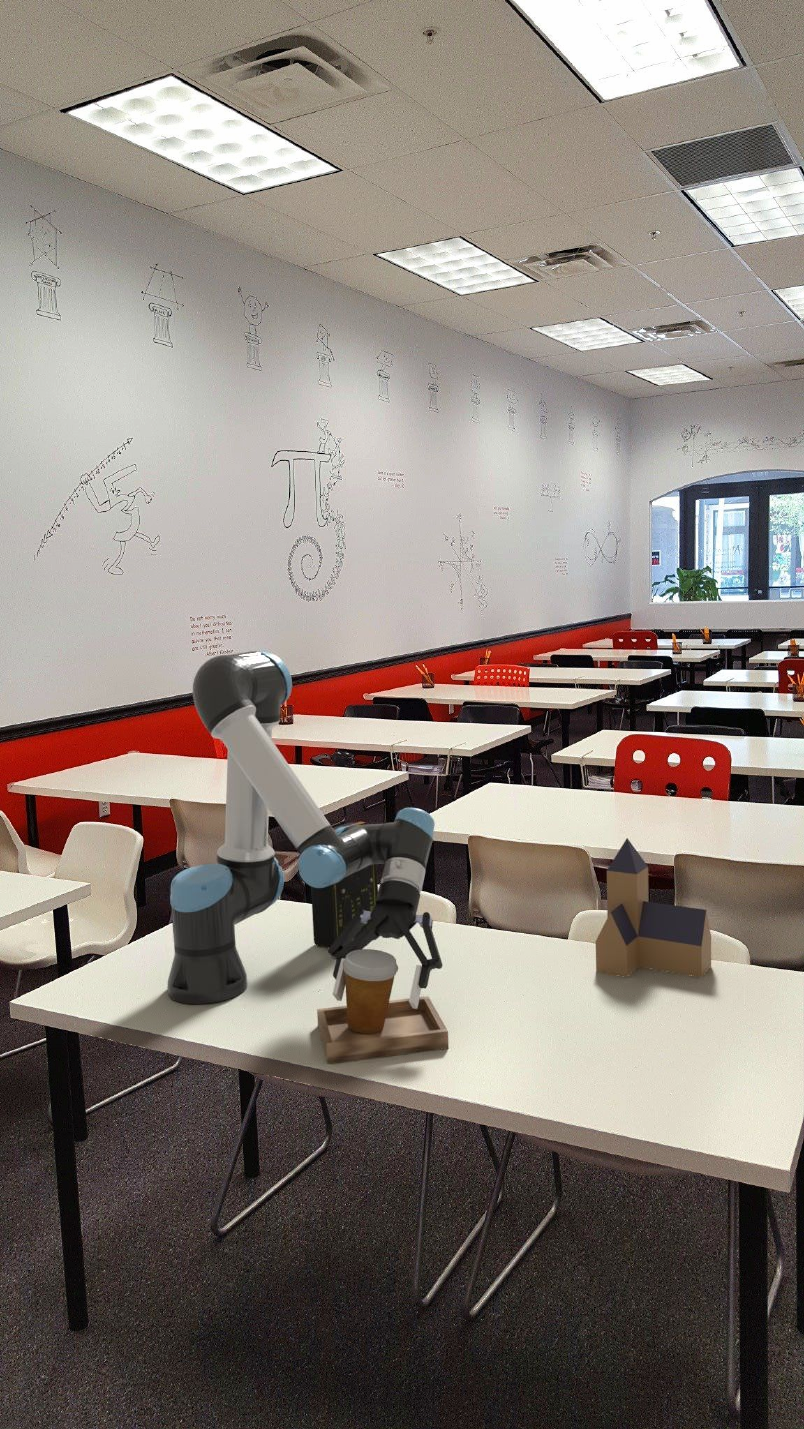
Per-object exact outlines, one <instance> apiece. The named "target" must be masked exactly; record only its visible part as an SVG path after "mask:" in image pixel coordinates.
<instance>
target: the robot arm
mask: <svg viewBox="0 0 804 1429" xmlns="http://www.w3.org/2000/svg"><path fill="white" fill-rule="evenodd" d="M290 672H291V671H290V670H289V668H288V666H287V665H286V664H285V663H284V662H283V660H282V659H281V658H280V657H279V656H277V655H276V654H274V653H271V652H269V651H256V650H255V651H253V650H251V651H246V652H238V653H233V654H223V655H222V654H220V655H215V656H214V657H212V658H209V659H208V660H206V661H205V662H204V663H203V664H202V665H201V666H200V667H199V668H198V669H197V672H196V673H195V676H194V678H193V683H192V698H193V702H194V707H195V709H196V712H197V714H198V716H199V718H200V720H201V722H202V723H203V725H204V727H205V728H206V730H207V732H208V733H209V734H210V735H211V737H212V738H213V739H219V740H221V742H222V743H223V744H224V746H225V747H226V749H227V764H226V765H227V766H226V768H227V769H226V793H225V796H226V797H225V798H226V799H225V829H224V831H225V832H224V843H223V844H222V845H221V846H220V847H219V848H218V849H216V852H217V853H216V863H203V864H199V865H198V866H190V867H188V868H186V869H184V870H181V871H180V872H179V873H177V874H175V876H174V878H172V881H171V884H170V896H169V903H170V908H171V924H172V932H173V933H172V934H173V946H174V955H173V960H172V963H171V967H170V972H169V974H168V975H169V976H168V980H167V995H168V997H169V998H170V999H171V1000H173V1001H174V1002H175V1001H176V1002H177V1003H182V1004H189V1005H206V1004H213V1003H219V1002H222V1001H223V1002H224V1001H228V1000H230V999H233V998H235V997H237V996H239V995H240V994H242V993H243V992H244V991H245V990H246V989H247V987H248V976H247V975H248V974H247V971H246V969H245V966H244V964H243V961H242V959H241V957H240V955H239V951H238V949H237V946H236V945H237V944H236V930H235V929H236V928H235V925H237V924H239V923H241V922H242V921H244V920H247V919H249V918H251V917H252V916H254V915H257V914H261V913H263V912H265V911H266V910H268V908H270V907H271V906H273V904H275V903H276V902H277V901H278V899H279V898H280V896H281V895H282V892H283V889H284V884H285V877H284V871H283V867H282V866H280V865H279V863H280V862H279V861H278V859H277V858H276V856H275V850H274V848H272V846H270V844H269V843H268V837H269V812H270V813H271V815H272V817H274V819H275V820H276V822H277V823H278V825H279V826H280V827H281V829H282V830H283V832H284V833H285V834H286V836H287V837H288V839H289V841H290V842H291V843H292V845H293V847H294V848H295V849H296V851H297V852H298V854H299V858H298V860H297V867H298V868H297V869H298V872H299V876H300V878H301V880H302V881H303V882H304V883H305V884H307V885H308V886H310V887H311V886H312V887H315V888H324V887H327V886H329V885H332V884H335V883H338V882H339V881H341V880H342V879H343V878H345V877H347V876H349V875H350V874H353V873H355V872H357V871H359V870H360V869H362V868H364V867H366V866H368V865H372V864H377V865H378V864H379V865H383V864H384V867H383V870H382V874H381V878H380V884H379V885H378V894H377V899H376V903H375V908H374V909H373V911H372V912H370V911H365V910H363V909H362V908H361V907H359V908H357V909H356V912H355V915H354V917H353V919H352V920H351V921H350V923H349V924H348V925H347V926H346V928H345V929H344V930H343V931H342V933H341V934H340V935H339V937H338V938H337V939H336V940H335V942H334V943H333V944H332V945H331V947H330V948H327V949H328V950H327V952H328V954H329V956H330V957H331V958H332V959H333V960H335V964H334V968H333V972H332V976H333V978H334V980H335V983H334V985H333V992H332V995H333V997H334V998H335V999H336V1000H337V1002H338V1001H340V1002H342V1000H343V996H344V993H345V990H346V983H345V971H344V968H343V962H344V960H345V958H346V955H347V954H348V953H350V952H352V951H355V950H361V949H364V948H366V947H367V946H368V945H369V944H370V943H372V942H373V941H376V940H377V939H379V937H382V939H389V938H392V939H395V940H400V938H403V937H405V939H406V941H407V942H408V944H409V946H410V947H411V949H412V951H413V952H414V954H415V955H416V957H417V959H418V961H419V962H420V964H421V965H420V964H416V965H415V970H414V975H413V979H412V984H411V991H410V995H409V998H410V999H409V998H408V999H409V1003H410V1005H411V1006H412V1008H414V1009H417V1008H418V1003H419V998H420V997H421V993H422V989H424V990H425V989H426V988H427V987H428V984H429V979H430V975H431V972H432V970H436V969H438V970H440V969H442V968H443V965H444V964H443V961H442V958H441V956H440V952H439V948H438V946H437V942H436V938H435V934H434V933H433V923H434V920H433V918H432V916H431V915H430V913H429V912H428V911H424V912H423V913H422V914H417V911H418V907H419V903H420V898H421V892H422V891H423V887H424V886H423V885H424V880H425V875H426V868H427V864H428V859H429V855H430V851H431V848H432V843H433V841H434V832H435V827H436V826H435V819H434V818H433V817H432V816H431V814H430V813H428V812H427V811H425V810H423V809H420V808H416V807H404V808H403V809H401V810H399V811H398V812H397V813H396V817H394V818H395V819H394V822H387V823H370V824H371V825H350V826H346V827H340V828H338V829H337V830H336V831H335V830H334V829H333V828H334V827H332V825H331V823H330V822H329V821H328V820H327V818H326V817H325V815H324V813H323V812H322V811H321V809H320V808H319V807H318V804H317V803H316V802H315V800H314V799H313V798H312V797H311V795H310V793H309V792H308V790H307V788H306V787H305V786H304V785H303V783H302V781H300V779H299V777H298V776H297V774H296V773H295V772H294V770H293V769H292V767H291V766H290V764H289V763H288V762H287V760H286V759H285V757H284V755H283V754H282V753H281V752H280V750H279V748H278V747H277V745H276V744H275V743H274V741H273V738H272V737H273V729H274V728H275V727H276V726H277V725H278V724H279V723H280V722H281V706H282V705H284V704H285V703H286V702H287V700H288V699H289V698H290V696H291V693H292V688H293V681H292V675H291V673H290ZM369 919H371V920H372V922H371V923H370V924H369V925H368V926H367V927H366V929H365V930H364V931H363V932H362V933H361V934H359V935H358V936H357V937H356V938H355V939H353V938H354V937H355V936H356V935H357V933H358V932H359V931H360V929H361V928H362V926H363V924H364V923H365V924H366V923H367V921H368V920H369ZM417 924H419V926H420V928H422V929H423V934H424V937H425V940H426V943H427V944H426V945H427V946H428V950H429V954H430V957H431V958H427V957H426V955H425V953H424V951H423V950H422V948H421V946H420V944H419V943H418V942H417V940H416V939H415V937H414V935H413V933H412V932H411V930H412V929H413V927H414V926H416V925H417ZM374 929H376V930H375V931H374Z"/></svg>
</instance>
